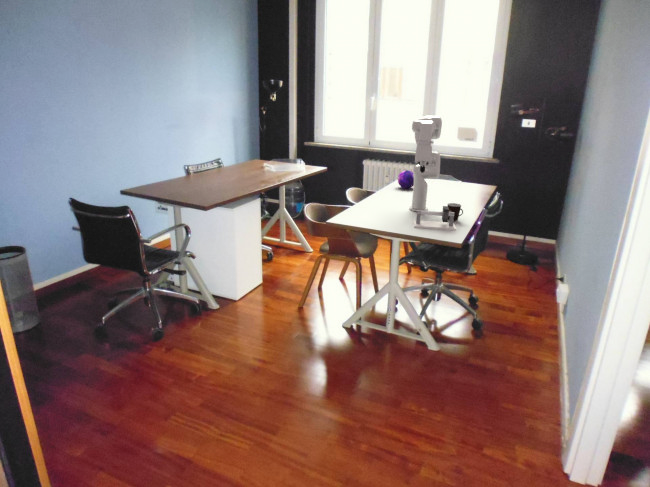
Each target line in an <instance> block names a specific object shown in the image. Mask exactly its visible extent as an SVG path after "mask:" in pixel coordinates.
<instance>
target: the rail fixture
mask: <svg viewBox="0 0 650 487" xmlns="http://www.w3.org/2000/svg"><path fill="white" fill-rule="evenodd" d="M422 216H434V217H435V216H436V217H442V216H443V211H434V210H427V211H421V210H417V211H416V217H415V218H416V219H415V220H413V228H417V229H430V230H431V229H432V230H443V231H444V230H446V231H457V228H456V224H455V223H454V222H455V221H454V212H449V215H448V216H450V218H449V220H448V222H443V221H432V220H431V221H429V220H421V217H422Z"/></svg>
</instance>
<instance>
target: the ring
mask: <svg viewBox="0 0 650 487" xmlns="http://www.w3.org/2000/svg"><path fill="white" fill-rule="evenodd" d="M442 212H443V216H441V222H449V220H448V215H449V208H448V205H447V206H446V205H443V206H442Z"/></svg>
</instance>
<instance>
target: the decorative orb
mask: <svg viewBox="0 0 650 487" xmlns="http://www.w3.org/2000/svg"><path fill="white" fill-rule="evenodd" d="M397 176H398V177H397V183H398V185H399V186H400V187H401V188H403V189H406V190H407V189H411V188H413V186H414V172H413V171H411V170H410V169H409V170H403V171H401V172H400V173H399V175H397Z"/></svg>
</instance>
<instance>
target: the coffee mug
mask: <svg viewBox="0 0 650 487" xmlns="http://www.w3.org/2000/svg"><path fill="white" fill-rule="evenodd" d="M447 206H448V208H449V212H454V222H457V221H458V220H459V217H461V216H462V215H464V210H463V209H462V204H460V203H454V202H451V203H447ZM460 213H461V214H460ZM449 218H450V216H448V221H449Z"/></svg>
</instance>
